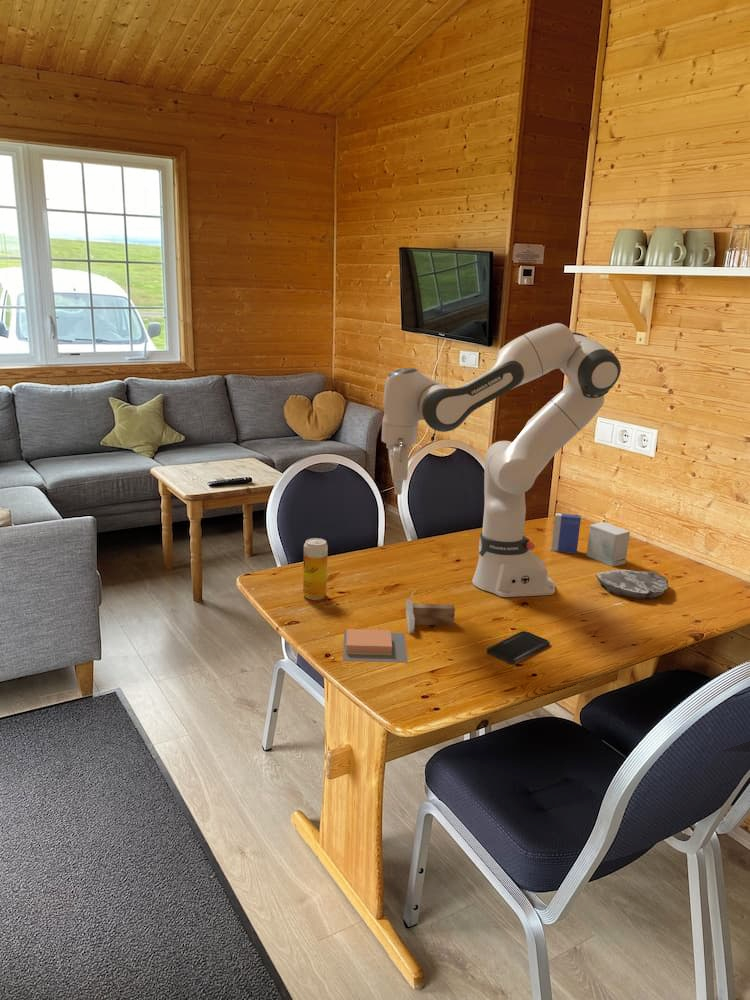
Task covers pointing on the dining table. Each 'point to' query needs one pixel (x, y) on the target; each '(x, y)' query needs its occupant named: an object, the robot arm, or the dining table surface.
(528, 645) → the phone
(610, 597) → the dining table surface
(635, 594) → the grey stone slab
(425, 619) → the walnut scraper
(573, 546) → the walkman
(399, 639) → the charcoal mat
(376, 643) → the terracotta tile
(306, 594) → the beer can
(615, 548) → the skincare box
